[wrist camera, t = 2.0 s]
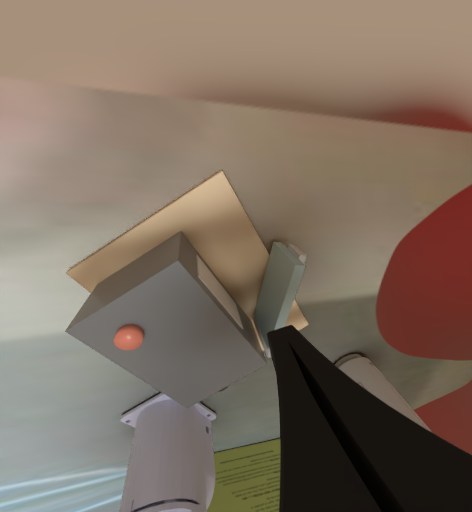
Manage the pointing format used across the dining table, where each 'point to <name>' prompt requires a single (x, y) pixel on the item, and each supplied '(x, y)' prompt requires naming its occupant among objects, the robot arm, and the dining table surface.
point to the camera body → (171, 324)
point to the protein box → (247, 479)
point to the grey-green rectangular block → (278, 289)
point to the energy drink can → (376, 384)
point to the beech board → (197, 244)
